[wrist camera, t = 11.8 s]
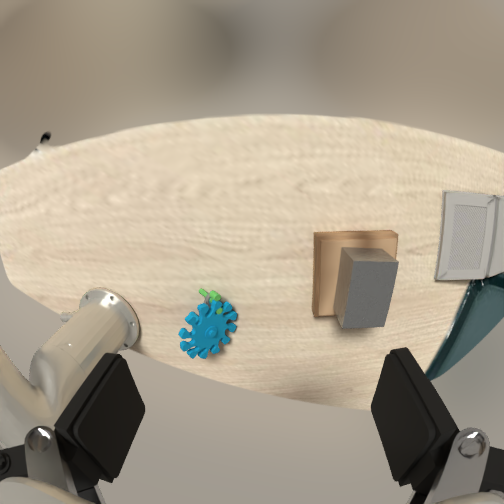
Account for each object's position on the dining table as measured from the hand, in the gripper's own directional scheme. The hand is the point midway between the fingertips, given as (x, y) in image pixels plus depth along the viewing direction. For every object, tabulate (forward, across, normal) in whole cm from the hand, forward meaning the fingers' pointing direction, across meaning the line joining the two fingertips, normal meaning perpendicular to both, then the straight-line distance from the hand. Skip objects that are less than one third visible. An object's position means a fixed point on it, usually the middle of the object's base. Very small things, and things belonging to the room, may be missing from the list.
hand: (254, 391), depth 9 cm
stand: (+30, -13, +8) cm, 34 cm away
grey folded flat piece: (+31, -40, +3) cm, 51 cm away
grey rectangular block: (+27, -13, +8) cm, 31 cm away
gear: (+31, +8, +14) cm, 35 cm away
